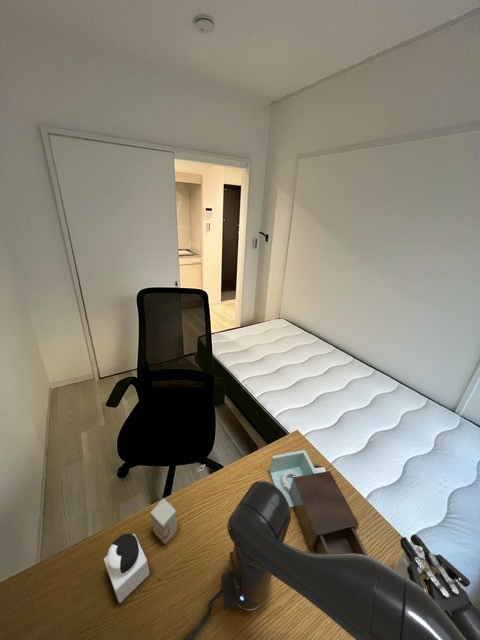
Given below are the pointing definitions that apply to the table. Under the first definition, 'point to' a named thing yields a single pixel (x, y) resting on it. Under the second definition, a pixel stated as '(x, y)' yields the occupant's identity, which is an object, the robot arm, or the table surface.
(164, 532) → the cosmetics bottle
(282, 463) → the teal open bin
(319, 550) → the drawer
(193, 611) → the table surface
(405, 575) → the eye dropper bottle
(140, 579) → the white block with dome
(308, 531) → the cabinet
